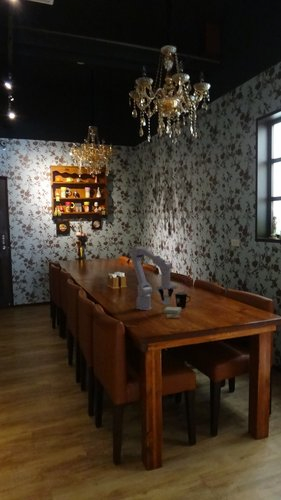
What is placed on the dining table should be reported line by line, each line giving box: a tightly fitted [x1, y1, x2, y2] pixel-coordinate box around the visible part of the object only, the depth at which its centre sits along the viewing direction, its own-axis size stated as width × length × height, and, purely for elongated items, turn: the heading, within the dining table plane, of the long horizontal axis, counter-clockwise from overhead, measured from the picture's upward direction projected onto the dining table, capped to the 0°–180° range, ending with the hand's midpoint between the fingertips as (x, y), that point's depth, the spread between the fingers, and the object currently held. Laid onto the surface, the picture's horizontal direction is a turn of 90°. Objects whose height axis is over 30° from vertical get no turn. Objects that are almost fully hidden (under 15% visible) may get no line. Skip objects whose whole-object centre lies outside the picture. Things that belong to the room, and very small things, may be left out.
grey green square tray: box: [163, 306, 182, 315], centre depth 224 cm, size 10×10×2 cm
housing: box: [161, 294, 171, 306], centre depth 221 cm, size 7×4×5 cm, turn 12°
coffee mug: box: [174, 291, 192, 309], centre depth 235 cm, size 12×9×10 cm
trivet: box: [165, 313, 181, 320], centre depth 211 cm, size 8×8×1 cm
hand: (165, 300), depth 221 cm, fingers closed on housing, 4 cm apart
